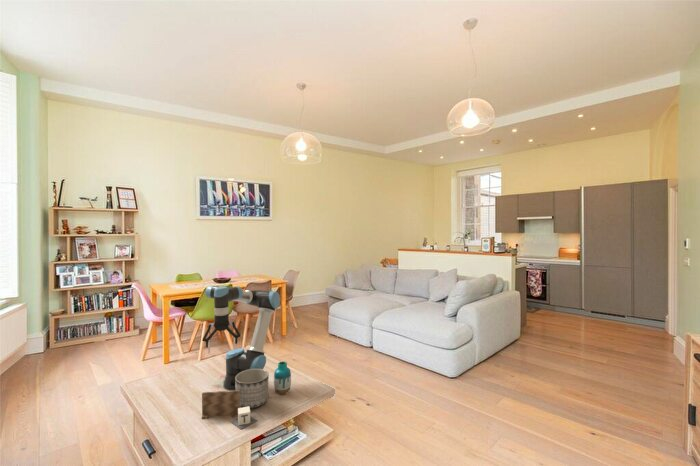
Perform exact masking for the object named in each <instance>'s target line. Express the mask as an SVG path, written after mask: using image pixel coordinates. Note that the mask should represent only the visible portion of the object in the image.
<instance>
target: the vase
mask: <svg viewBox="0 0 700 466" xmlns="http://www.w3.org/2000/svg"><path fill="white" fill-rule="evenodd" d="M273 373H274V375H273V386H274V391H275V393H276V394H278V395H285V394H287V393H289V392H290V390H291V386H292V371H291V369H290V368H289V367H288V363H287V361H285V360H284V361H279V362H278V363H277V368H276V369H274V372H273Z"/></svg>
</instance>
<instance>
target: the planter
mask: <svg viewBox="0 0 700 466" xmlns="http://www.w3.org/2000/svg"><path fill="white" fill-rule="evenodd" d="M269 375H270V374H269V371H268V370H265V369H264V368H263V369H249V370H245V371H242V372H240V373H239V374H237V375H236V377H235V388H236V390H240V408H243V407H248V406H249V407H250V409H255V408H259V407H261V406H263V405H265V403H267V401H268V399H269V377H270V376H269Z"/></svg>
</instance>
